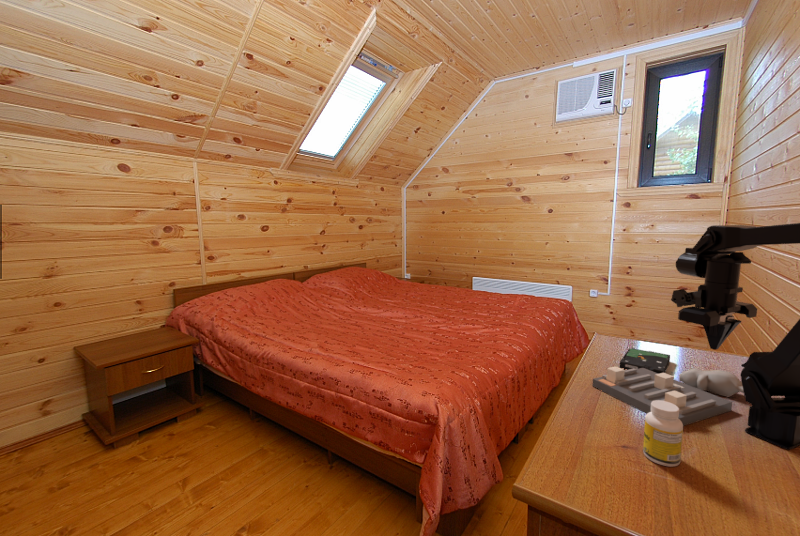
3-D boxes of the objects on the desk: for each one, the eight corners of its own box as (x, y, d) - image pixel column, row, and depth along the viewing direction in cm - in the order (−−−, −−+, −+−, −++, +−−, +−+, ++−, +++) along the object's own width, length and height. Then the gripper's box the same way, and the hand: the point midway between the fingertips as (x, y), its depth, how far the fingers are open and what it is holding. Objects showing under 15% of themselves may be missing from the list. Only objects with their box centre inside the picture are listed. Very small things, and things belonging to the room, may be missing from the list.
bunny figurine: (686, 362, 96) (765, 373, 85) (687, 380, 97) (766, 394, 85) (675, 371, 91) (759, 385, 79) (676, 391, 91) (760, 408, 79)
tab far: (623, 381, 89) (624, 369, 89) (615, 383, 88) (615, 371, 88) (615, 377, 92) (615, 366, 91) (606, 379, 91) (607, 368, 90)
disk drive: (664, 381, 96) (669, 363, 107) (664, 371, 95) (670, 354, 106) (618, 370, 102) (628, 354, 113) (619, 361, 102) (629, 346, 113)
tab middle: (672, 388, 85) (674, 376, 85) (664, 390, 84) (665, 378, 84) (662, 384, 88) (663, 372, 87) (654, 386, 87) (654, 374, 86)
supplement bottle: (644, 444, 68) (648, 395, 67) (680, 456, 65) (685, 404, 63) (640, 459, 64) (644, 406, 63) (679, 472, 61) (684, 417, 59)
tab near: (685, 408, 76) (686, 395, 76) (675, 411, 75) (677, 397, 75) (673, 403, 79) (674, 390, 78) (664, 406, 78) (665, 392, 77)
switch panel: (731, 410, 79) (732, 398, 79) (676, 428, 73) (677, 415, 73) (642, 374, 98) (643, 364, 98) (592, 386, 92) (593, 375, 91)
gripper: (705, 273, 92) (698, 333, 94) (656, 279, 85) (651, 343, 87) (762, 280, 82) (753, 347, 84) (712, 287, 75) (704, 360, 77)
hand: (713, 348), depth 83 cm, fingers closed
